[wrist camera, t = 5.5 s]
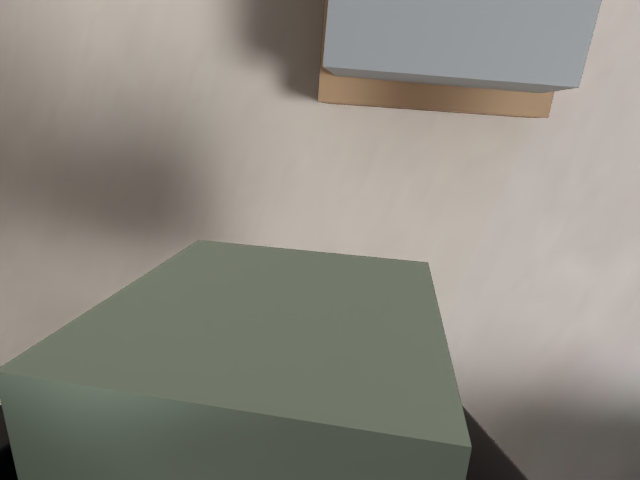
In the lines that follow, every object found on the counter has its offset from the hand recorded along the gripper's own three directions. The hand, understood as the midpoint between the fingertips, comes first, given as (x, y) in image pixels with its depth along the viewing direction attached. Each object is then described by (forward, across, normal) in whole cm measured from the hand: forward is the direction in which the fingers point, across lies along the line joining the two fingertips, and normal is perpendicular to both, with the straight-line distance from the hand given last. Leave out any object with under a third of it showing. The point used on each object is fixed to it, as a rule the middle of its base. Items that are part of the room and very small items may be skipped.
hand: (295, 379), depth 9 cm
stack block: (+1, 0, 0) cm, 1 cm away
